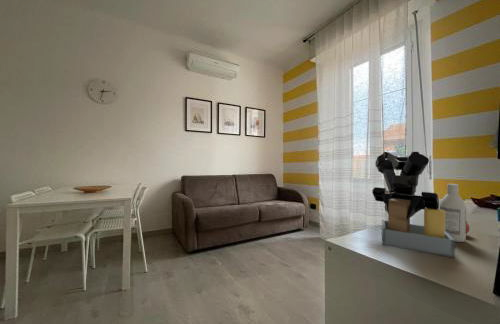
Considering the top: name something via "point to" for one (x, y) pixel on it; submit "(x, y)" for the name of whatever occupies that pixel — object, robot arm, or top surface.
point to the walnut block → (398, 215)
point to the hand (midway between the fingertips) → (397, 216)
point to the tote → (418, 240)
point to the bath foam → (454, 213)
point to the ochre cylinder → (434, 222)
